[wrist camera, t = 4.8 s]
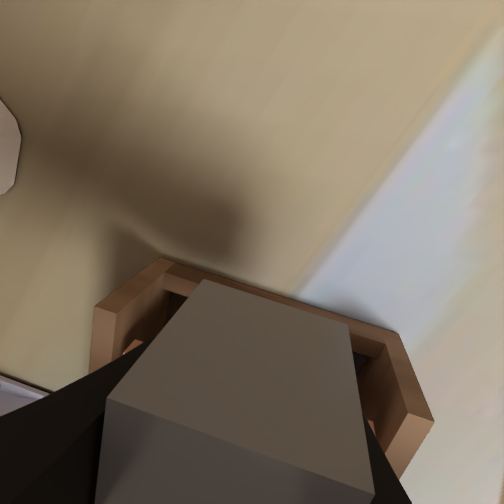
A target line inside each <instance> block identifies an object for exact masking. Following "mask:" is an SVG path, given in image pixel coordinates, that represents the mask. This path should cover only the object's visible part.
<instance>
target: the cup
mask: <svg viewBox="0 0 504 504" xmlns="http://www.w3.org/2000/svg"><path fill="white" fill-rule="evenodd" d="M20 144H21V135H20V131H19V128H18V124H17V121H16V119H15V118H14V116H13V115H12V114H11V113H10V111H9V110H8V109H7V107H6V106H5V105H4V104H3V102H2V101H1V100H0V195H1V194H4V193H6V192H7V191H8V190H9V189H10V188H11V187H12V186H13V185H14V181H15V175H16V169H17V162H18V156H19V150H20Z"/></svg>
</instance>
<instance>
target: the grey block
mask: <svg viewBox="0 0 504 504" xmlns="http://www.w3.org/2000/svg"><path fill="white" fill-rule="evenodd" d="M374 496H375V491H374V485H373V479H372V472H371V466H370V460H369V454H368V448H367V441H366V435H365V429H364V423H363V416H362V410H361V404H360V398H359V392H358V385H357V379H356V373H355V367H354V361H353V354H352V348H351V342H350V336H349V329H348V324H345V323H341V322H338V321H335V320H332V319H329V318H326V317H322V316H319V315H316V314H313V313H310V312H307V311H304V310H300V309H297V308H294V307H291V306H288V305H285V304H281V303H278V302H275V301H272V300H269V299H266V298H263V297H259V296H256V295H253V294H250V293H247V292H244V291H240V290H237V289H234V288H231V287H228V286H225V285H222V284H218V283H215V282H212V281H209V280H206V279H203V280H202V281H201V283H200V284H199V285H198V286H197V288H196V289H195V290H194V291H193V293H192V294H191V295H190V296H189V297H188V299H187V300H186V301H185V302H184V304H183V305H182V306H181V307H180V308H179V310H178V311H177V312H176V313H175V315H174V316H173V317H172V318H171V319H170V321H169V322H168V323H167V324H166V326H165V327H164V328H163V329H162V330H161V332H160V333H159V334H158V335H157V337H156V338H155V339H154V340H153V341H152V343H151V344H150V345H149V346H148V348H147V349H146V350H145V351H144V352H143V354H142V355H141V356H140V357H139V359H138V360H137V361H136V362H135V364H134V365H133V366H132V367H131V368H130V370H129V371H128V372H127V373H126V375H125V376H124V377H123V378H122V379H121V381H120V382H119V383H118V384H117V386H116V387H115V388H114V389H113V390H112V392H111V393H110V394H109V395H108V397H107V399H106V407H105V416H104V425H103V434H102V443H101V451H100V460H99V469H98V478H97V486H96V495H95V504H370V503H371V501H372V499H373V497H374Z"/></svg>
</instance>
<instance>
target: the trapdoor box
mask: <svg viewBox="0 0 504 504" xmlns="http://www.w3.org/2000/svg"><path fill="white" fill-rule="evenodd" d="M203 279H206V280H209V281H212V282H215V283H218V284H222V285H225V286H228V287H231V288H234V289H237V290H240V291H244V292H247V293H250V294H253V295H256V296H259V297H263V298H266V299H269V300H272V301H275V302H278V303H281V304H285V305H288V306H291V307H294V308H297V309H300V310H304V311H307V312H310V313H313V314H316V315H319V316H322V317H326V318H329V319H332V320H335V321H338V322H341V323H345V324H348V329H349V336H350V342H351V348H352V351H354V352H357V353H360V354H363V355H366V356H367V358H366V360H365V362H364V364H363V366H362V369H361V371H360V373H359V375H358V377H357V385H358V392H359V398H360V404H361V408H362V410H363V412H364V414H365V416H366V418H367V420H370V421H373V424H374V429H375V435H376V438H377V440H378V442H379V444H380V446H381V448H382V450H383V452H384V454H385V455H386V457H387V459H388V461H389V463H390V465H391V467H392V468H393V470H394V472H395V474H396V476H397V478H398V479H400V477H401V476H402V474H403V473H404V471H405V469H406V468H407V466H408V464H409V463H410V461H411V460H412V458H413V456H414V455H415V453H416V452H417V450H418V448H419V447H420V445H421V443H422V442H423V440H424V439H425V437H426V435H427V434H428V432H429V431H430V429H431V427H432V426H433V424H434V419H433V417H432V414H431V412H430V409H429V407H428V404H427V402H426V399H425V397H424V395H423V392H422V390H421V387H420V385H419V382H418V380H417V377H416V375H415V372H414V370H413V368H412V365H411V363H410V360H409V358H408V355H407V353H406V350H405V348H404V345H403V343H402V341H401V338H400V336H399V334H398V333H395V332H392V331H388V330H385V329H382V328H379V327H376V326H373V325H370V324H366V323H363V322H360V321H357V320H354V319H351V318H348V317H345V316H341V315H338V314H335V313H332V312H329V311H326V310H323V309H319V308H316V307H313V306H310V305H307V304H304V303H301V302H298V301H294V300H291V299H288V298H285V297H282V296H279V295H276V294H273V293H269V292H266V291H263V290H260V289H257V288H254V287H251V286H247V285H244V284H241V283H238V282H235V281H232V280H229V279H226V278H222V277H219V276H216V275H213V274H210V273H207V272H204V271H200V270H197V269H194V268H191V267H188V266H185V265H182V264H179V263H175V262H172V261H169V260H166V259H163V258H160V257H159V258H158V259H157V260H155V261H154V262H153V263H151V264H150V265H149V266H147V267H146V268H145V269H143V270H142V271H141V272H139V273H138V274H137V275H135V276H134V277H133V278H131V279H130V280H129V281H127V282H126V283H125V284H123V285H122V286H121V287H119V288H118V289H117V290H115V291H114V292H113V293H111V294H110V295H109V296H107V297H106V298H105V299H103V300H102V301H101V302H99V303H98V304H97V305H95V306H94V316H93V328H92V339H91V351H90V362H89V374H90V373H92V372H94V371H96V370H97V369H99V368H101V367H103V366H104V365H106V364H108V363H110V362H111V361H113V360H115V359H117V358H118V357H120V356H122V355H123V352H124V351H125V350H126V349H127V348H128V347H129V346H130V344H131V343H132V342H133V341H134V340H135V339H136V340H139V341H142V342H145V341H146V340H148V339H149V338H151V337H153V336H154V335H156V334H158V333H160V332H161V330H162V329H163V328H164V323H165V318H166V312H167V307H168V301H169V296H170V291H171V292H174V293H177V294H180V295H183V296H186V297H189V296H190V295H191V294H192V293H193V291H194V290H195V289H196V288H197V286H198V285H199V284H200V283H201V281H202V280H203Z"/></svg>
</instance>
